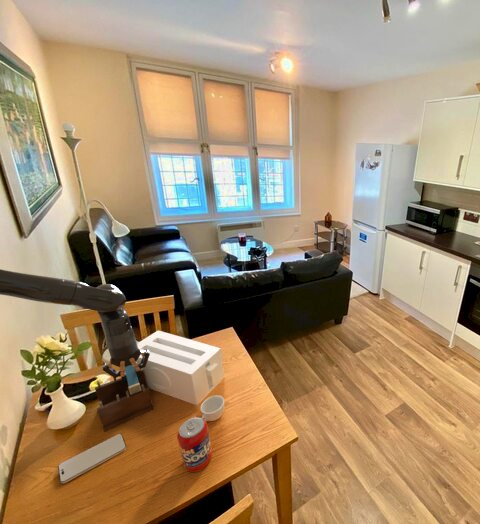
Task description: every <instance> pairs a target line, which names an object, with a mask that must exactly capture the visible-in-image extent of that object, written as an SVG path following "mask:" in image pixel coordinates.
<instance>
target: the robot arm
mask: <svg viewBox="0 0 480 524" xmlns="http://www.w3.org/2000/svg"><path fill="white" fill-rule="evenodd" d="M0 295H1V296H6V297H7V296H8V297H12V298H17V299H23V300H27V301H33V302H38V303H45V304H53V305H62V306H74V307H79V308H82V309H85V310H91V311H94V312H97V314H98V316H99V319H100V323H101V328H102V331H103V334H104V340H105V344H106V347H107V350H108V353H109V356H110V359H109V361H107V362H106V363H102V365H101V368H102V371H103V372H104V373H106V374H108V375H109V376H111V377H112V378H113V377H114V378H116V379H118V377H119V378H122V381H123V383H126V384H128V381H127V376H126V372H125V367H127V366H129V365H133V367H134V368H135V371H136V374H137V378H138V379H140V377H142V374H141V371H140V370H141V368H144V367H146V364H147V361H148V358H149V355H150V352H149V350H148V349H146V350H145V351H140V349H138V346H137V343H138V342H137V338H136V335H135V332H134V329H133V327H132V325H131V320H130V318H129V314H128V313H127V311H126V309H125V306H126V302H127V298H126V296H125V294H124V293H123V292H122V291H121V290H120V289H119V287H117V286H116V285H113V284H110V283H104V284H100V285H98V286H97V287H94V286H90V285H88V284H87V283H85V282H82V281H79V280H71V279H65V278H59V277H53V276H44V275H37V274H29V273H23V272H16V271H11V270H6V269H1V268H0ZM140 355H142V360H141V363H140V364H138V363H137V360H138V358H139V356H140ZM113 366H115V367H118V368H119V371H118V370H116V369H115V368H113Z"/></svg>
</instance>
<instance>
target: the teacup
mask: <svg viewBox="0 0 480 524" xmlns="http://www.w3.org/2000/svg"><path fill="white" fill-rule="evenodd" d="M225 410H226V409H225V398H224V397H223V396H222V395H216V394H215V395H211V396H209V397H207V398H206V399H205V400H204V401H202V403H201V404H200V413H201V417H200V418H202V419H203V420H204V421H206V422H214V421H217V420H219V419H220V418H221V417H222V416H223V415H224V413H225Z"/></svg>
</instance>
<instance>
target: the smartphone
mask: <svg viewBox="0 0 480 524" xmlns="http://www.w3.org/2000/svg"><path fill="white" fill-rule="evenodd" d="M125 450H127V444H126V442H125V439H124V437H123V434H122V433H118V434H116V435H113V436H111V437H110V438H108V439H106V440H104V441H102V442H99V443H98V444H95V445H94V446H91V447H89V448H88V449H86V450H84V451H81V452H80V453H78V454H76V455H74V456H71V457H70V458H68V459H65V460H64V461H62V462H60V463H59V465H58V467H57V469H58V476H59V481H60V483H61V484H66V483H68V482H70V481H71V480H74V479H76V478H77V477H79V476H80V475H83V474H85V473H87V472H89V471H91V470H93V469H94V468H95V467H97V466H99V465H101V464H103V463H105V462H106V461H108V460H110V459H112V458H114V457H116V456H117V455H120V454H121V453H123V452H125Z"/></svg>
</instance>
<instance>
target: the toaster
mask: <svg viewBox="0 0 480 524" xmlns="http://www.w3.org/2000/svg"><path fill="white" fill-rule="evenodd" d="M137 346H138V349H140V351H145V350H146V349H148V350H149V352H150V355H149V358H148V361H147V364H146V367H144V368H141V370H143V372H144V376H145V380H146V384H147V387H148V389H150V390H153V391H155V392H159V393H161V394H163V395H167V396H170V397H172V398H175V399H178V400H182V401H184V402H186V403H189V404H192V405H195V406H199V404H200V403H201V402H203V400H204V399H205V398H206V397H207V396H208V395H209V394H210V393H211V392H212V391H213V390H214V389H215V388H216V387H217V386H218V385H219V384H220V383H221V382H222V380H224V378H226V376H225V368H224V361H223V353H222V347H217V346H214V345H211V344H207V343H204V342H201V341H196V340H194V339H190V338H187V337H183V336H179V335H176V334H173V333H170V332H169V333H168V332H165V331H162V330H159V329H158V330H156V331H155V332H153V333H151V334H150V335H149V336H146V337H145V338H143V339H142V340H140V341H139V342H137ZM141 360H142V355H140V356H139V358H138V360H137V363H138V364H140V363H141ZM141 370H140V371H141Z"/></svg>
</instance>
